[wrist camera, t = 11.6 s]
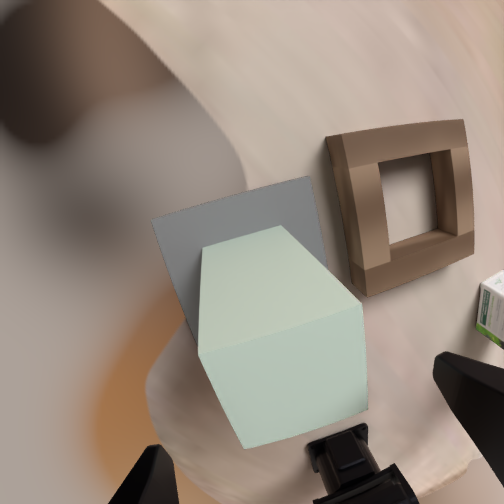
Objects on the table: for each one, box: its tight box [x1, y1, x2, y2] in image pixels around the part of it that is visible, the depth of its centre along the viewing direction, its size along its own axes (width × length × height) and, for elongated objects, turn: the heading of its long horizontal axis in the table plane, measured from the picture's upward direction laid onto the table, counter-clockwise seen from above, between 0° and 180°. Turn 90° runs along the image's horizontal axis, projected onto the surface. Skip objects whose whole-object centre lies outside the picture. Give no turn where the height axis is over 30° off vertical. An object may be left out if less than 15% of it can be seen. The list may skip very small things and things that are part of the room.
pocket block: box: [326, 119, 474, 298], centre depth 19 cm, size 10×10×2 cm
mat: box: [151, 176, 328, 346], centre depth 20 cm, size 10×10×1 cm
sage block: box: [198, 225, 368, 449], centre depth 15 cm, size 5×5×11 cm
